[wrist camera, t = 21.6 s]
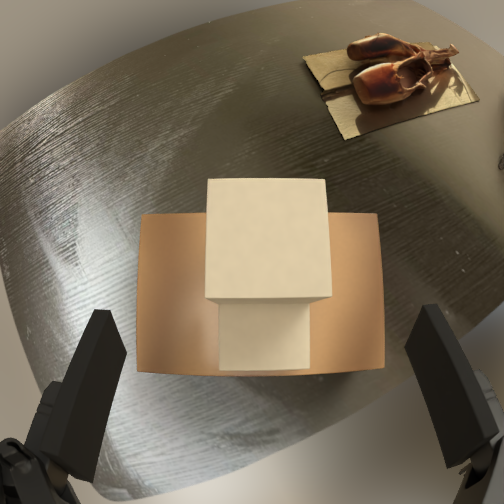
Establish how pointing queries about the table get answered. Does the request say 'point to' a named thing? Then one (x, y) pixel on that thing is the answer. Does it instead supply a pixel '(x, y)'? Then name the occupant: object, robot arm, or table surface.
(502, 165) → the dog figurine
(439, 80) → the ballet pointe shoes
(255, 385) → the table surface
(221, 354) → the beige block black base
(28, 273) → the table surface
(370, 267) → the shoe shelf
